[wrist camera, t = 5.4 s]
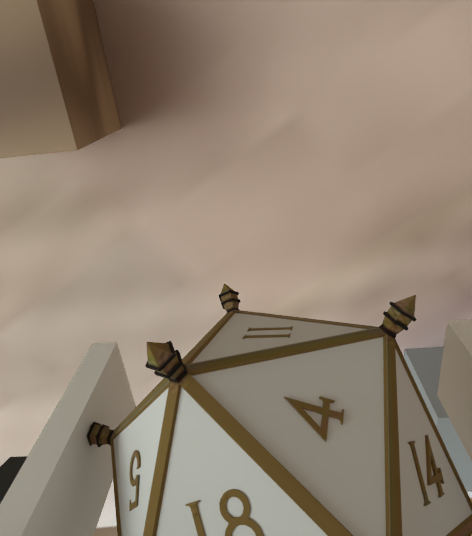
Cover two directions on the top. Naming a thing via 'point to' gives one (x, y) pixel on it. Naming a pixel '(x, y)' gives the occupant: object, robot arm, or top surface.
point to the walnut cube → (52, 78)
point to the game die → (285, 436)
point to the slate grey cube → (438, 406)
